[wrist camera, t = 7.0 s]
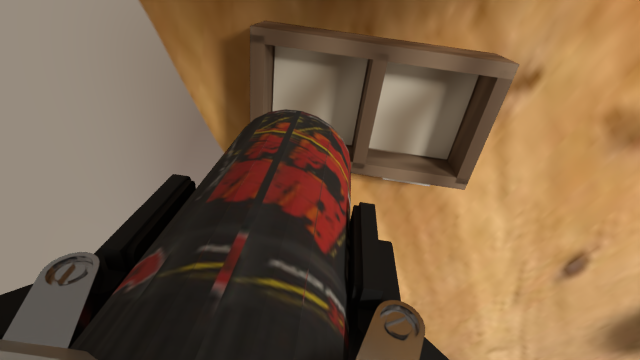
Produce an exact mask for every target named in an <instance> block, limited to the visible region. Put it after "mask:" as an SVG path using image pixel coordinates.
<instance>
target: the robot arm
mask: <svg viewBox="0 0 640 360" xmlns="http://www.w3.org/2000/svg"><path fill="white" fill-rule="evenodd" d="M195 190H196V187H195V182H194V181H191V179H190V177H189V176H183V175H176V174H175V175H174V174H173V175H172V176H171V177H170V178H169V179H168V180H167V181H166V182H165V183H164V184H163V185H162V186H161V187H160V188H159V189H158V190H157V191H156V192H155V193H154V194H153V195H152V196H151V197H150V198H149V199H148V200H147V201H146V202H145V203H144V204H143V205H142V206H141V207H140V208H139V209H138V210H137V211H136V212H135V213H134V214H133V215H132V216H131V217H130V218H129V219H128V220H127V221H126V222H125V223H124V224H123V225H122V226H121V227H120V228H119V229H118V230H117V231H116V232H115V233H114V234H113V235H112V236H111V237H110V238H109V239H108V240H107V241H106V242H105V243H104V244H103V245H102V246H101V247H100V248H99V249H98V250H97V251H96V252H95V253H94V254H92V253H88V252H77V253H72V254H68V255H65V256H62V257H59V258H58V259H56V260H54V261H52V262H51V263H49V264H48V265H47V266H46V267H44V269H43V270H42V271H41V272H40V274H39V276H38V277H37V279H36V281H35V282H34V284H31V285H28V286H25V287H22V288H19V289H17V290H14V291H11V292H8V293H5V294H2V295H0V360H96V359H95V358H94V357H93V356H92V355H90V354H89V353H88V352H86V351H80V350H74V349H69V348H70V347H71V346H72V345H73V343H74V342H75V341H76V340H77V338H78V337H79V336H80V335H81V333H82V332H83V331H84V330H85V328H86V327H87V326H88V324H89V323H90V322H91V321H92V319H93V318H94V317H95V316H96V314H97V313H98V312H99V311H100V309H101V308H102V307H103V306H104V304H105V303H106V302H107V301H108V299H109V298H110V297H111V296H112V294H113V293H114V292H115V290H116V289H117V288H118V287H119V285H120V284H121V283H122V282H123V280H124V279H125V278H126V277H127V275H128V274H129V273H130V272H131V270H132V269H133V268H134V267H135V265H136V264H137V263H138V262H139V260H140V259H141V258H142V256H143V255H144V254H145V253H146V251H147V250H148V249H149V248H150V246H151V245H152V244H153V243H154V241H155V240H156V239H157V238H158V236H159V235H160V234H161V233H162V231H163V230H164V229H165V227H166V226H167V225H168V224H169V222H170V221H171V220H172V219H173V217H174V216H175V215H176V214H177V212H178V211H179V210H180V209H181V207H182V206H183V205H184V204H185V202H186V201H187V200H188V199H189V197H190V196H191V195H192V193H193V192H194V191H195ZM424 336H425V325H424V322H423V319H422V318H421V316H420V315H419V313H418V312H417V311H416V310H415V309H414V308H413V307H411V306H410V305H408V304H406V303H404V302H401V299H400V292H399V286H398V279H397V272H396V266H395V259H394V253H393V246H392V243H391V242H389V241H382V240H378V231H377V221H376V211H375V205H374V204H369V203H362V202H360V203H359V206H357V205H354V207H353V211H352V215H351V220H350V261H349V345H348V360H449V359H448V358H447V357H446V356H445V355H443V354H442V353H441V352H440V351H439V350H438V349H437V348H436V347H435V346H434V345H433V344H432V343H431V342H429V341H428V340H427V339H426V338H425V337H424Z"/></svg>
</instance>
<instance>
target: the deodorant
mask: <svg viewBox="0 0 640 360" xmlns="http://www.w3.org/2000/svg"><path fill="white" fill-rule="evenodd" d="M350 204H351V162H350V156H349V151H348V149H347V147H346V145H345V143H344V141H343V139H342V137H341V136H340V135H339V134H338V133H337V132H336V130H335V129H334V128H333V127H332V126H331V125H329V124H328V123H326V122H325V121H323V120H322V119H321V118H319V117H317V116H314V115H312V114H309V113H306V112H303V111H298V110H287V109H284V110H278V111H272V112H268V113H266V114H264V115H261V116H259V117H257V118H255V119H254V120H253V121H252V122H251V123H250V124H248V125H247V126H246V127H245V128H244V129H243V130H242V132H241V133H240V134H239V136H238V137H237V138H236V139H235V141H234V142H233V143H232V144H231V146H230V147H229V148H228V149H227V151H226V152H225V153H224V154H223V156H222V157H221V158H220V160H219V161H218V162H217V163H216V165H215V166H214V167H213V168H212V170H211V171H210V172H209V173H208V175H207V176H206V177H205V178H204V180H203V181H202V182H201V183H200V185H199V186H198V187H197V188H196V190H195V191H194V192H193V193H192V195H191V196H190V197H189V199H188V200H187V201H186V202H185V204H184V205H183V206H182V207H181V209H180V210H179V211H178V212H177V214H176V215H175V216H174V217H173V219H172V220H171V221H170V222H169V224H168V225H167V226H166V227H165V229H164V230H163V231H162V233H161V234H160V235H159V236H158V238H157V239H156V240H155V241H154V243H153V244H152V245H151V246H150V248H149V249H148V250H147V251H146V253H145V254H144V255H143V256H142V258H141V259H140V260H139V262H138V263H137V264H136V265H135V267H134V268H133V269H132V270H131V272H130V273H129V274H128V275H127V277H126V278H125V279H124V280H123V282H122V283H121V284H120V285H119V287H118V288H117V289H116V290H115V292H114V293H113V294H112V296H111V297H110V298H109V299H108V301H107V302H106V303H105V304H104V306H103V307H102V308H101V309H100V311H99V312H98V313H97V314H96V316H95V317H94V318H93V319H92V321H91V322H90V323H89V324H88V326H87V327H86V328H85V330H84V331H83V332H82V333H81V335H80V336H79V337H78V338H77V340H76V341H75V342H74V343H73V345H72V346H71V347H70V348H69V349H74V350H80V351H86V352H88V353H89V354H90V355H92V356H93V357H94V358H95V359H96V360H348V345H349V261H350Z"/></svg>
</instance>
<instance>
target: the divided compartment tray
mask: <svg viewBox="0 0 640 360" xmlns="http://www.w3.org/2000/svg"><path fill="white" fill-rule="evenodd" d="M518 67H519V64H518V63H515V62H513V61H511V60H509V59H506V58H504V57H502V56H500V55H498V54H494V53H487V52H480V51H473V50H466V49H459V48H452V47H445V46H438V45H431V44H424V43H416V42H409V41H402V40H395V39H388V38H381V37H374V36H367V35H360V34H353V33H346V32H339V31H332V30H325V29H318V28H311V27H304V26H297V25H290V24H283V23H276V22H269V21H263V22H260V23H257V24H254V25H251V26H250V123H251V122H252V121H253V120H254V119H255V118H257V117H259V116H261V115H264V114H266V113H268V112H272V111H278V110H284V109H287V110H298V111H303V112H306V113H309V114H312V115H314V116H317V117H319V118H321V119H322V120H323V121H325V122H326V123H328V124H329V125H331V126H332V127H333V128H334V129H335V130H336V132H337V133H338V134H339V135H340V136H341V137H342V139H343V141H344V143H345V145H346V147H347V149H348V151H349V156H350V162H351V173H355V174H362V175H369V176H375V177H382V179H384V180H391V181H398V182H404V183H411V184H418V185H424V186H430V185H435V186H442V187H449V188H455V189H462V190H465V188H466V186H467V183H468V181H469V179H470V176H471V174H472V172H473V170H474V167H475V165H476V163H477V160H478V158H479V156H480V154H481V151H482V149H483V147H484V144H485V142H486V140H487V138H488V135H489V133H490V131H491V128H492V126H493V124H494V122H495V119H496V117H497V115H498V112H499V110H500V108H501V106H502V103H503V101H504V99H505V96H506V94H507V92H508V90H509V87H510V85H511V83H512V80H513V78H514V76H515V74H516V71H517V69H518Z"/></svg>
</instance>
